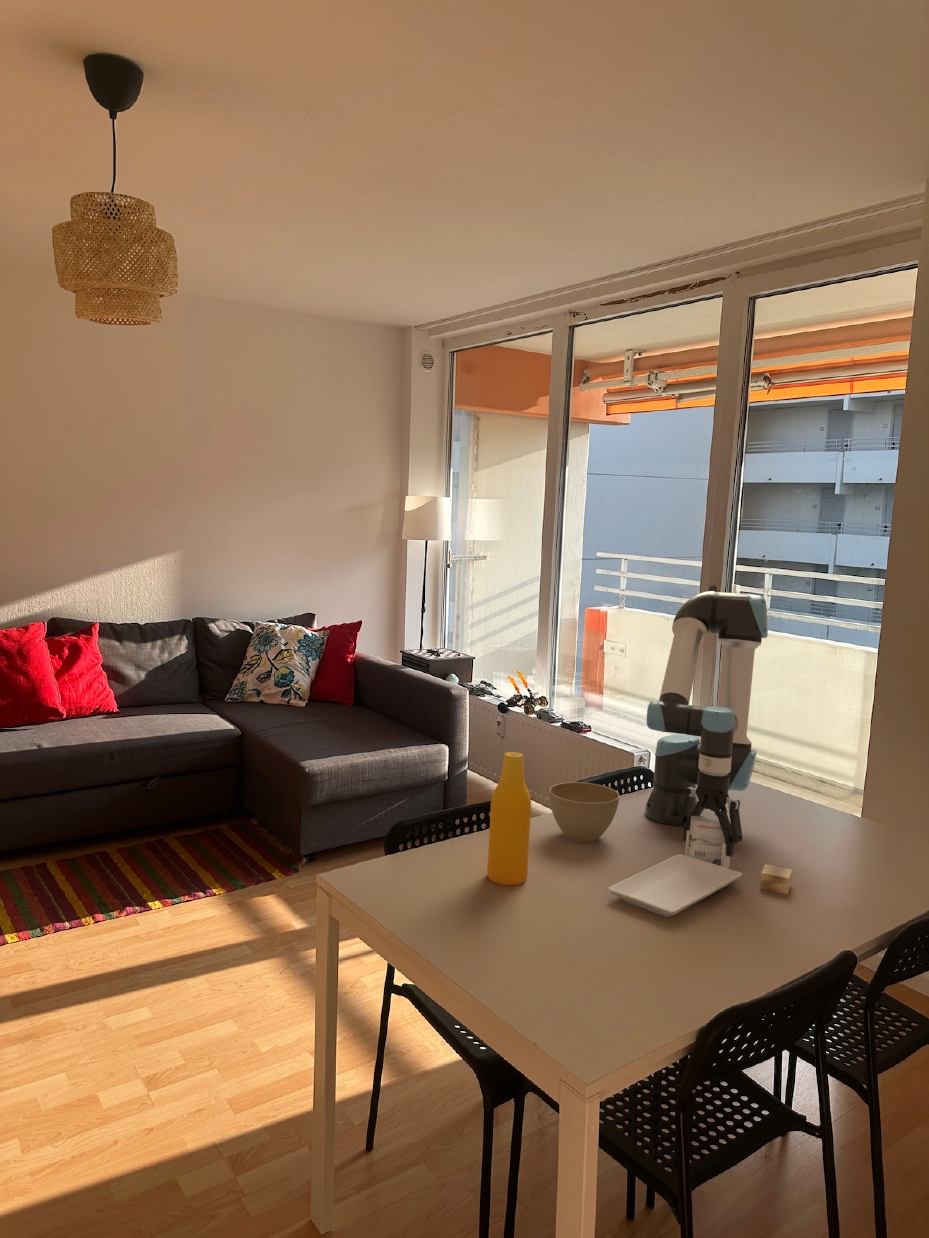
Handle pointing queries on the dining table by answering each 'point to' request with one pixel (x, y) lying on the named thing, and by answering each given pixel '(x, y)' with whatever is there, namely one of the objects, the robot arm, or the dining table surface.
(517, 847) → the beer bottle
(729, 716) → the robot arm
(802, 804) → the dining table surface
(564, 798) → the beige round bowl
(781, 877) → the oak block
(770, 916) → the dining table surface
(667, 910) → the tray
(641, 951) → the dining table surface
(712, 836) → the ink box
